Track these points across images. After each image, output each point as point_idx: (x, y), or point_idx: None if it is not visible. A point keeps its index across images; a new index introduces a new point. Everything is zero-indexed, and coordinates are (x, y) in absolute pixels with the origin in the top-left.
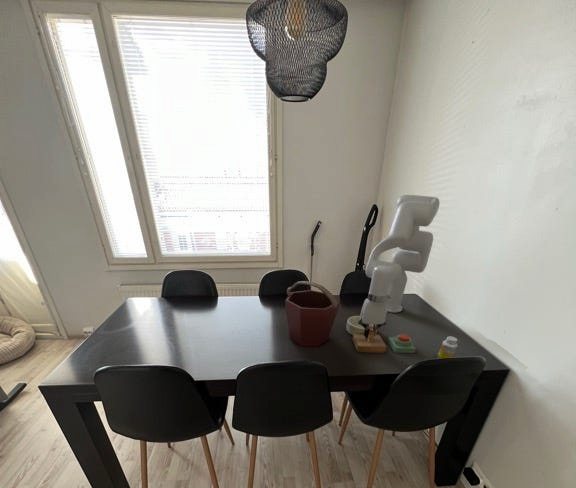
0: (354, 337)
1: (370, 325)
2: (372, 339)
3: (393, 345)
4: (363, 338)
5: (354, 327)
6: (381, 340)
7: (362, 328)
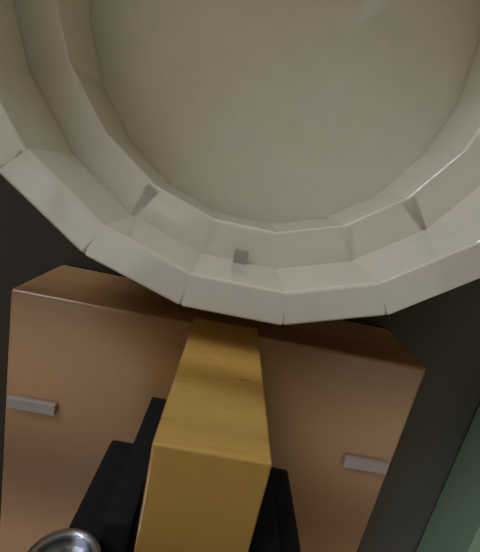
0: (14, 364)
1: (234, 529)
2: None
3: (458, 546)
4: (125, 435)
5: (7, 175)
6: (354, 514)
7: (155, 275)
